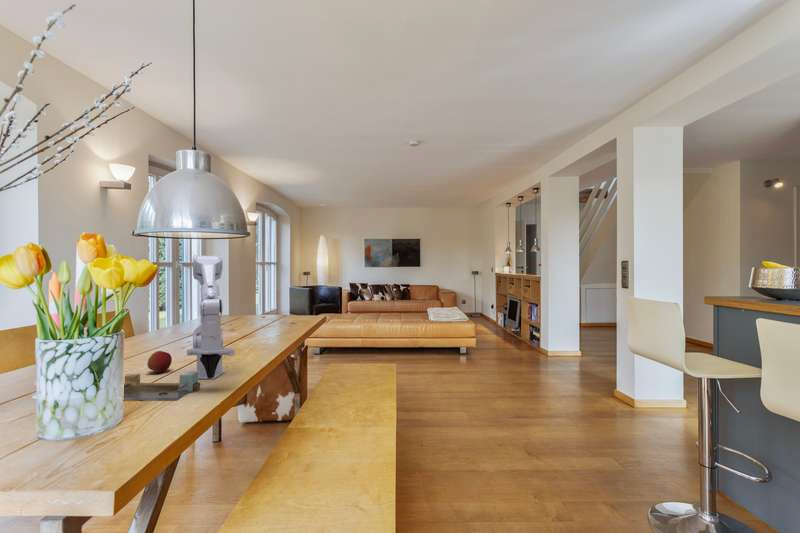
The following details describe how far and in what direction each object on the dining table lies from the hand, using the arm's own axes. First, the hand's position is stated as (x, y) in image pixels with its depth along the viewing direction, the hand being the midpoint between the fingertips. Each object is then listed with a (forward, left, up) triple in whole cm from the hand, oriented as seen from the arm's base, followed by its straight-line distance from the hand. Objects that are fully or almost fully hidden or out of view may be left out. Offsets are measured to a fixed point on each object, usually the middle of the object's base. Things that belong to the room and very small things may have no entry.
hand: (210, 377), depth 131 cm
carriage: (+2, -7, -4) cm, 8 cm away
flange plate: (+6, -17, -4) cm, 18 cm away
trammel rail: (+2, -16, -4) cm, 17 cm away
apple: (-21, -28, -4) cm, 35 cm away
